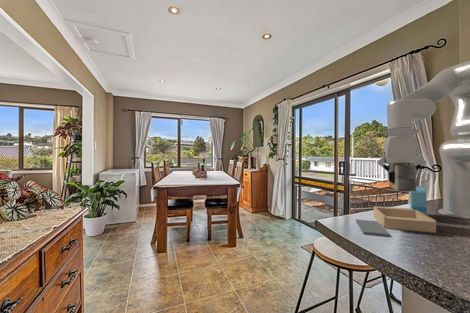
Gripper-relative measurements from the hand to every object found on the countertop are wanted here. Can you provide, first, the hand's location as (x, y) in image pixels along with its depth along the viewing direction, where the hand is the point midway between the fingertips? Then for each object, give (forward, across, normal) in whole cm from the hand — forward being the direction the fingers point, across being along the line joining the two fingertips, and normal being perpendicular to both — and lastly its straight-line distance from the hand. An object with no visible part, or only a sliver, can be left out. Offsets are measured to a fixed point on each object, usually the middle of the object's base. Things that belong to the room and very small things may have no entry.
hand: (401, 182), depth 78 cm
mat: (+15, +12, +9) cm, 21 cm away
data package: (+16, -10, -13) cm, 23 cm away
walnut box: (+3, 0, 0) cm, 3 cm away
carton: (+15, 0, 0) cm, 15 cm away
